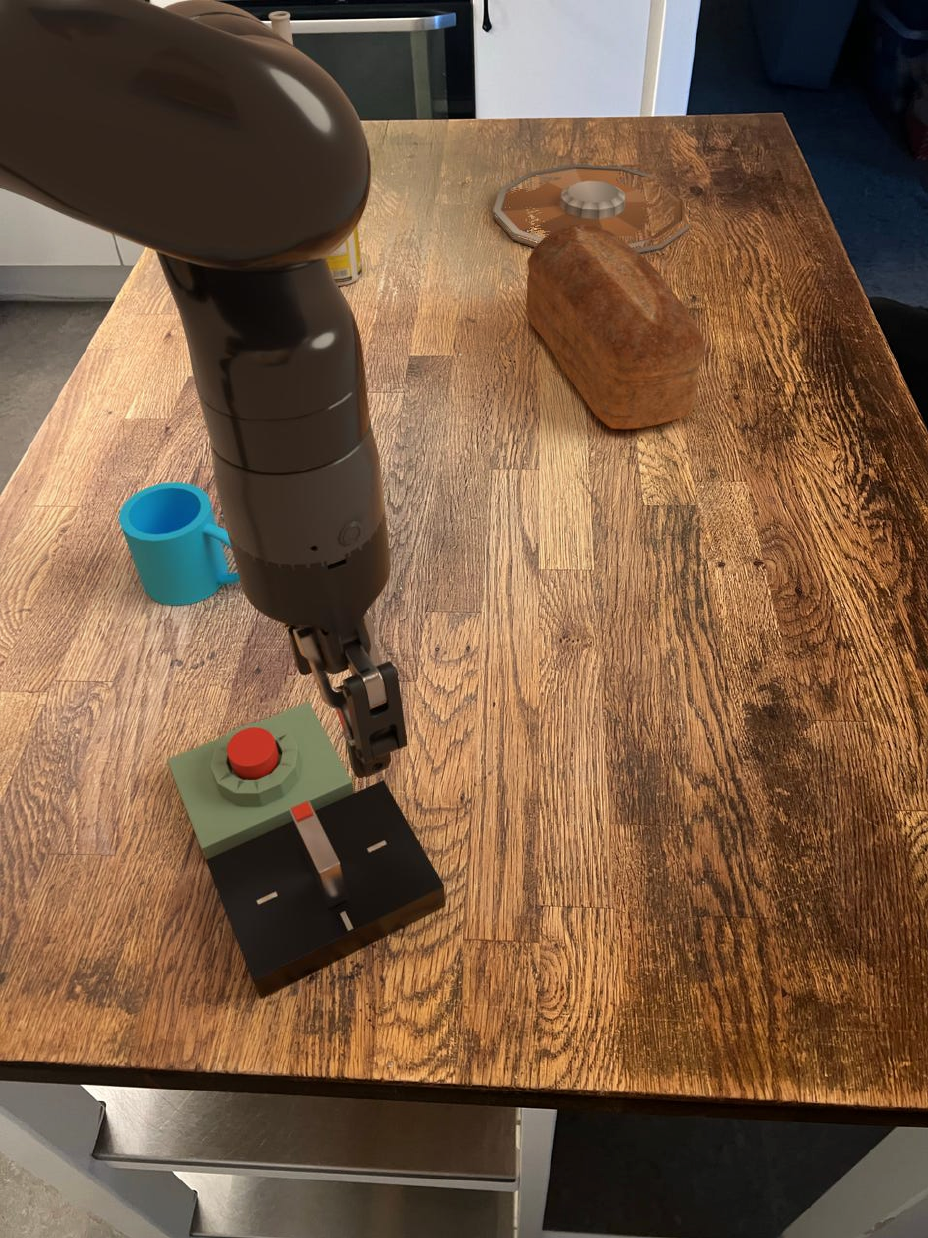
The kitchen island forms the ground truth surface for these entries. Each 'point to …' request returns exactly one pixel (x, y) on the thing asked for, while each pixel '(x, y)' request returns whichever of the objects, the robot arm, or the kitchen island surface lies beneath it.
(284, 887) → the base
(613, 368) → the bread
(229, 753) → the button
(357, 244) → the pill bottle
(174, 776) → the block
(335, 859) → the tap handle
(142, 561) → the mug
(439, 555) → the kitchen island surface
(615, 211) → the shield
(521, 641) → the kitchen island surface
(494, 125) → the kitchen island surface
